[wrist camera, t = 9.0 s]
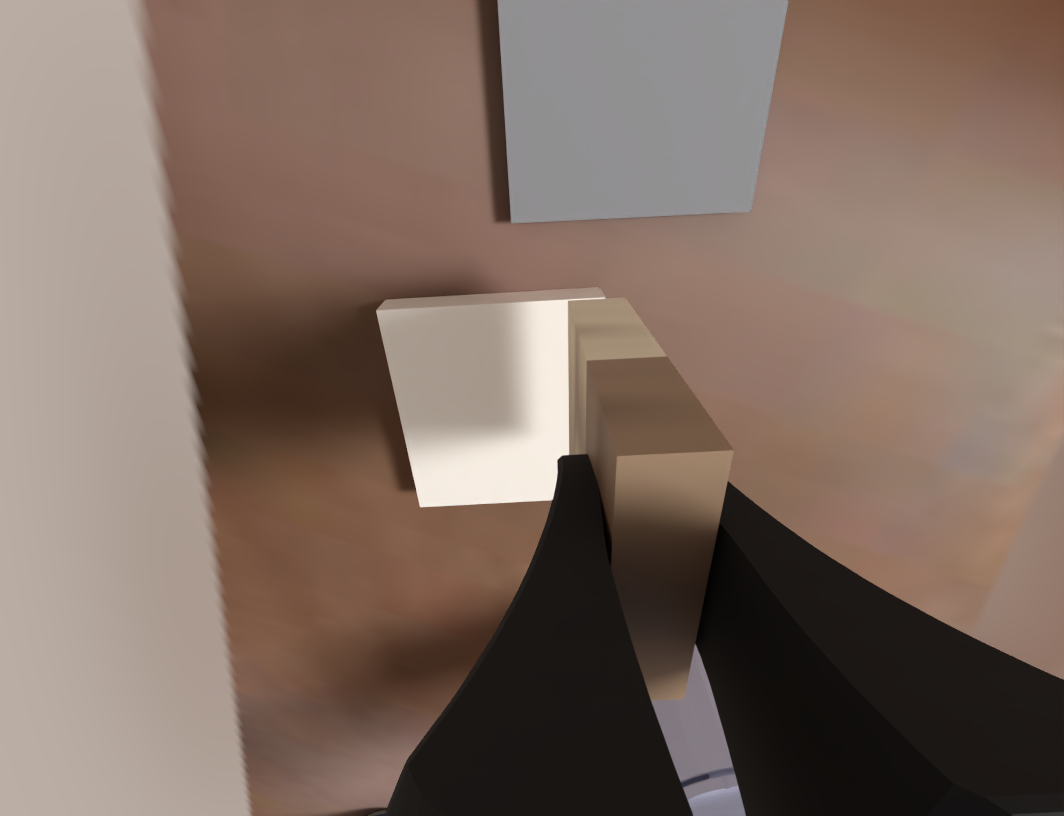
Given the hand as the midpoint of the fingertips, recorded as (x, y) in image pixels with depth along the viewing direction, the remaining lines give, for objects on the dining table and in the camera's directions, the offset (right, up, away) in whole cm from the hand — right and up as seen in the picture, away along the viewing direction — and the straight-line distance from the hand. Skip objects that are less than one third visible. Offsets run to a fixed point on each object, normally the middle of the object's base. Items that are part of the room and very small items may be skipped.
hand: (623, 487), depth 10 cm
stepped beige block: (0, +2, +4) cm, 5 cm away
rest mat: (+1, +12, +4) cm, 13 cm away
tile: (+1, +2, +9) cm, 9 cm away
